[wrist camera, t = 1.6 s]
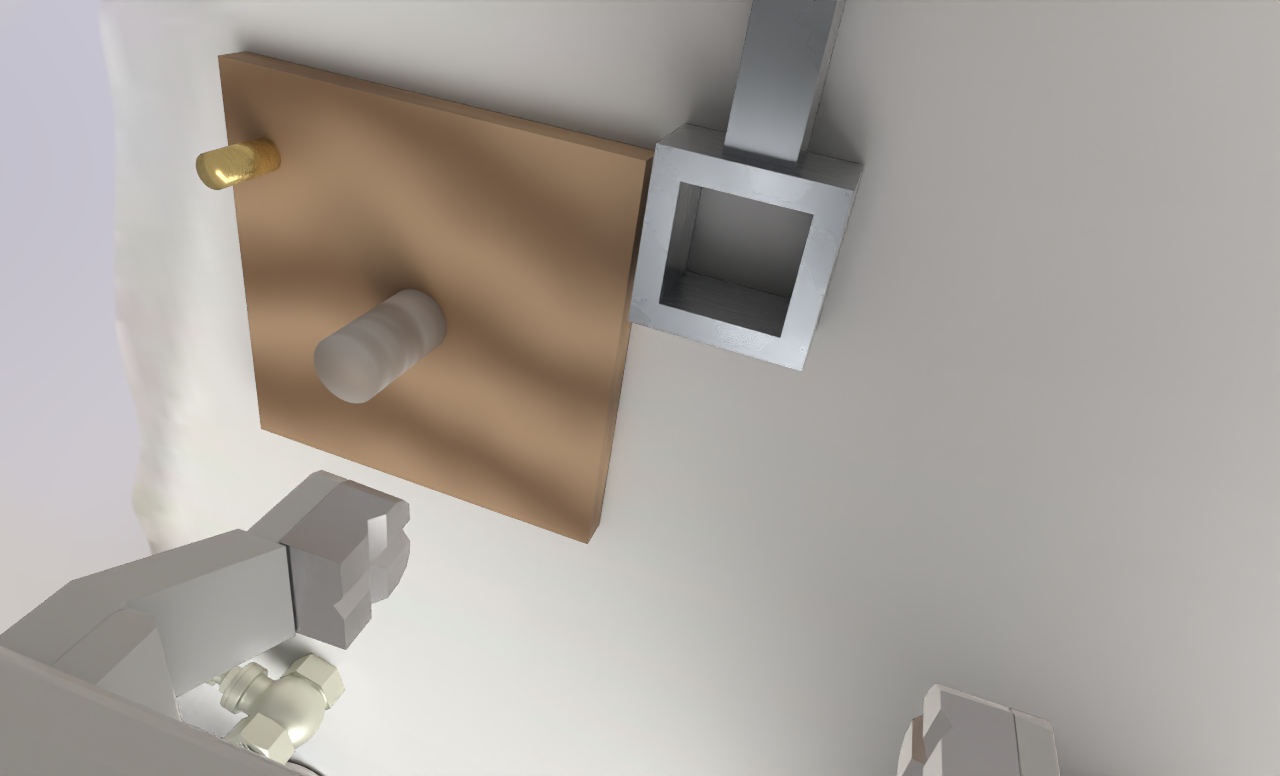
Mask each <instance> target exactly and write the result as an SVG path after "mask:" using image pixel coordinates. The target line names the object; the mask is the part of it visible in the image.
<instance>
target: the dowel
mask: <svg viewBox="0 0 1280 776" xmlns="http://www.w3.org/2000/svg"><path fill="white" fill-rule="evenodd" d="M280 165H281V155H280V152H279V150H278V148H277V147H276V145H275V144H274V143H273V142H272V141H271V140H269V139H267V138H264V137H260V138H256V139H253V140H249V141H245V142H242V143H238V144H235V145H231V146H227V147H224V148H220V149H216V150H213V151H209V152H206V153H202V154H200V155H199V156H198V158H197V160H196V169H197V173H198V175H199V177H200V179H201V180H202V182H203V183H204V184H205V185H206V186H208V187H209V188H211V189H214V190H220V189H223V188H226V187H229V186H232V185H235V184H238V183H241V182H244V181H247V180H250V179H253V178H256V177H259V176H262V175H265V174H268V173H271V172H274V171H276V170H278V169H279V167H280Z"/></svg>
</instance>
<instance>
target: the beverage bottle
mask: <svg viewBox="0 0 1280 776" xmlns="http://www.w3.org/2000/svg"><path fill="white" fill-rule="evenodd" d="M285 765H287V766H289V767H291V768H294V769H296V770H299V771H301V772H303V773H306V774H308V775H310V776H319V775H318V774H316V773H314V772H313V771H311V770H309V769H307V768H305V767H303V766H300V765H298V764H294V763H291V762H286V764H285Z"/></svg>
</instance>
